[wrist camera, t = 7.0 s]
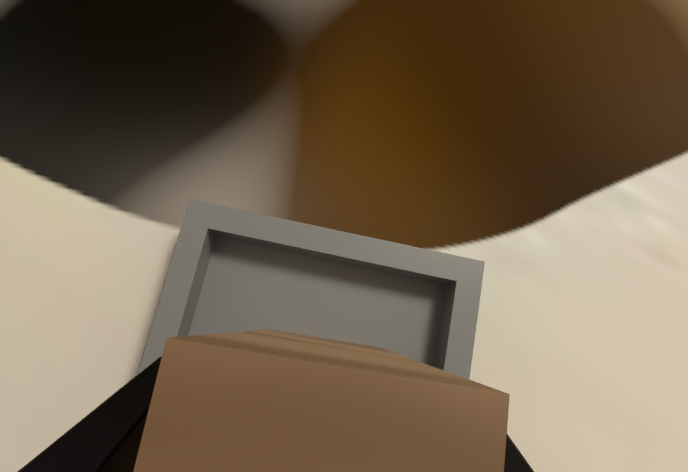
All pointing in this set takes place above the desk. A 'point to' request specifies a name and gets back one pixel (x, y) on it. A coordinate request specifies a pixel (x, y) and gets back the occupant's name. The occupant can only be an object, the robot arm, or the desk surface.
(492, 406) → the block
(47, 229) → the desk surface
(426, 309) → the tray
